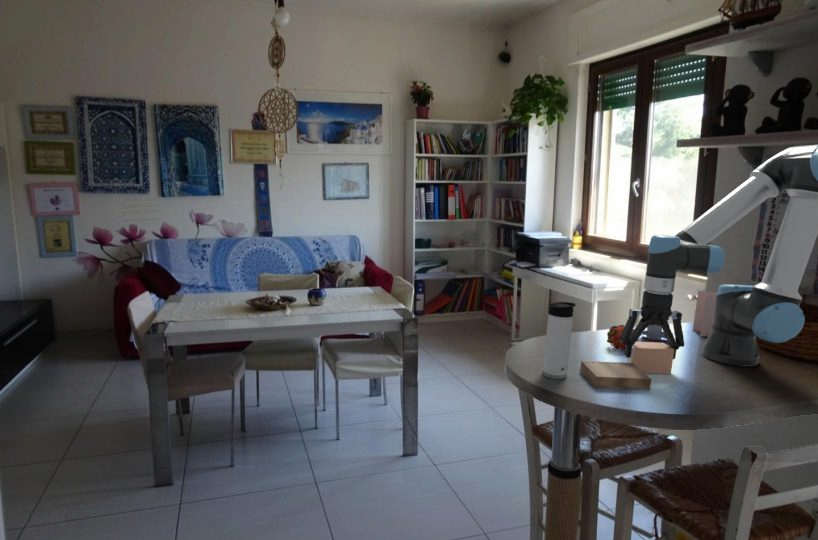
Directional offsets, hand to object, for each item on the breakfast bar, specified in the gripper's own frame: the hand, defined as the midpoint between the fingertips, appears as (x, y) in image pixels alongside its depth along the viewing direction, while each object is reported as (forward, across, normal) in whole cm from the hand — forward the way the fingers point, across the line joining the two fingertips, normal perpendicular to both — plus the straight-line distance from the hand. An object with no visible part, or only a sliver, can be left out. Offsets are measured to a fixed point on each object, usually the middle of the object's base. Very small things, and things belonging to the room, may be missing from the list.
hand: (648, 369), depth 156 cm
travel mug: (+1, -28, -7) cm, 29 cm away
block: (0, 0, 0) cm, 0 cm away
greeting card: (0, +41, +40) cm, 57 cm away
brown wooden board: (0, -13, -9) cm, 16 cm away
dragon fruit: (+1, +1, +20) cm, 20 cm away
